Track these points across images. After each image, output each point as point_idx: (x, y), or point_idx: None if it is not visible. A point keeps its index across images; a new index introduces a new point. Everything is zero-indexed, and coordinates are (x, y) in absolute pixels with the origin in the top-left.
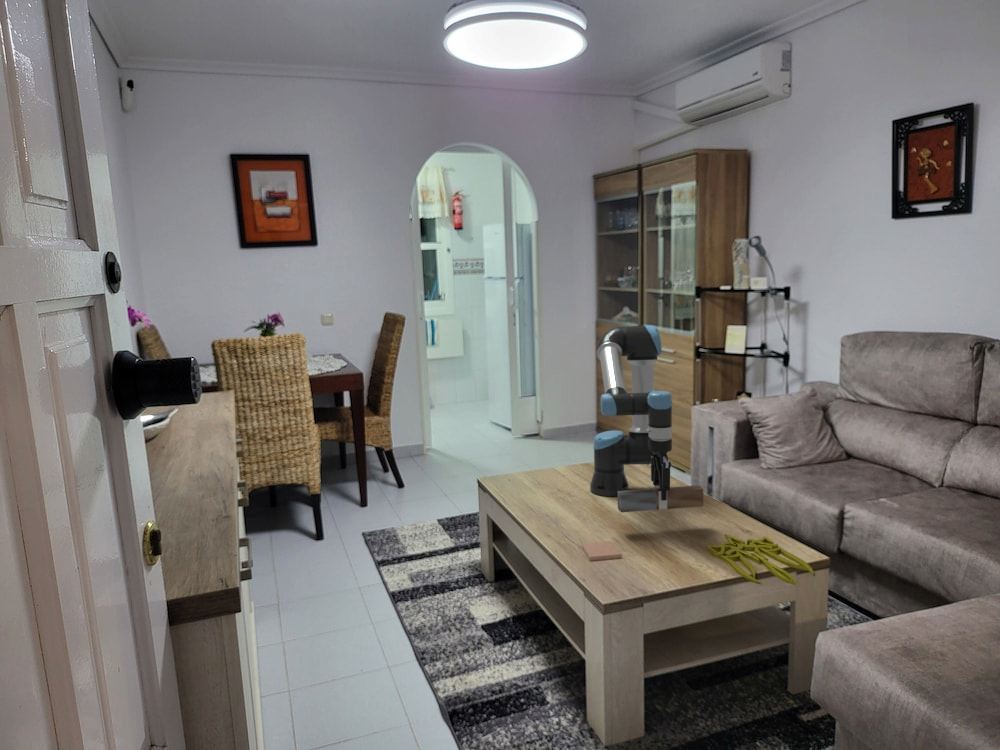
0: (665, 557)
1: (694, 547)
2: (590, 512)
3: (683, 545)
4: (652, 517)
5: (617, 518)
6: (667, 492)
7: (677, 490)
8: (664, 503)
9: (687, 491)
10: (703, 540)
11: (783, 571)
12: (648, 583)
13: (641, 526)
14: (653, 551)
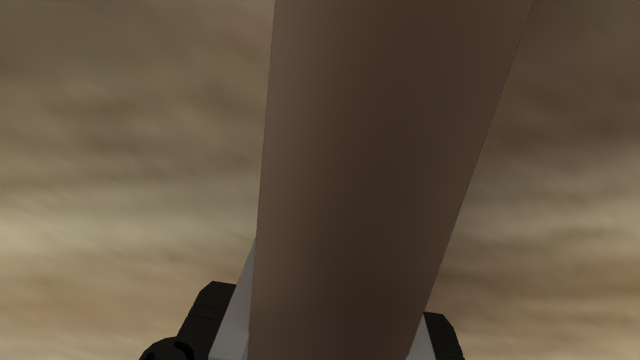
0: (618, 295)
1: (626, 130)
2: (57, 344)
3: (568, 169)
4: (155, 133)
5: (142, 285)
6: (410, 337)
7: (436, 220)
8: None
9: (504, 51)
10: (586, 25)
11: None
12: None
13: None
14: (538, 308)
